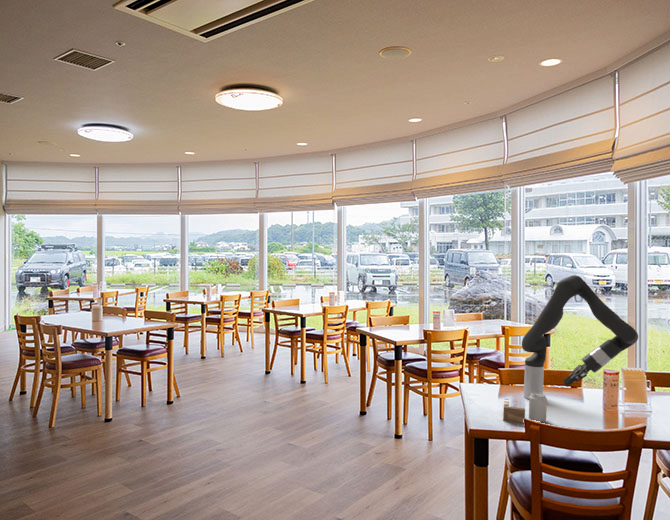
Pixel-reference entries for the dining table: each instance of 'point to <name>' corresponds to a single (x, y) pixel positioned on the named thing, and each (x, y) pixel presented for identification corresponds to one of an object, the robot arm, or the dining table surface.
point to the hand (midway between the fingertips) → (565, 383)
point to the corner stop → (513, 413)
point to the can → (537, 407)
